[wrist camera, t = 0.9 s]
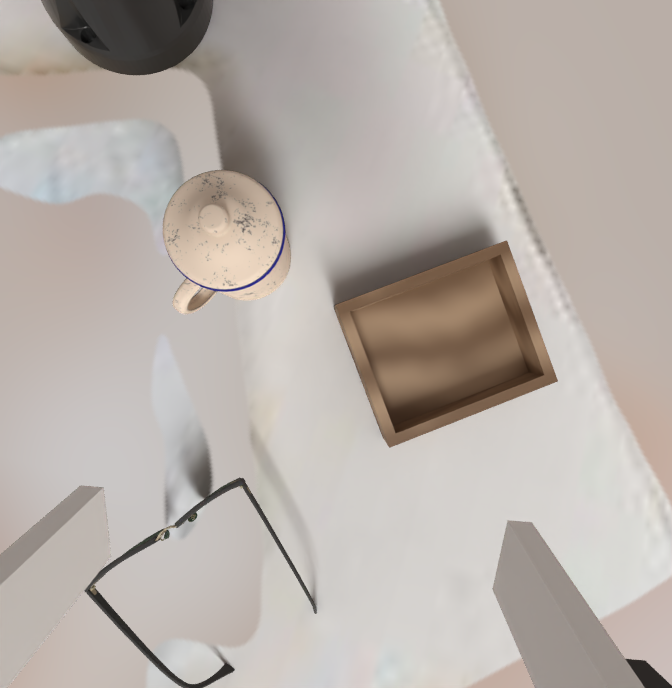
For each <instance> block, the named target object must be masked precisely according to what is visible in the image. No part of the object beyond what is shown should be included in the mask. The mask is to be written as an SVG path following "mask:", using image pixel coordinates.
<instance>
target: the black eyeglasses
mask: <svg viewBox="0 0 672 688" xmlns="http://www.w3.org/2000/svg"><path fill="white" fill-rule="evenodd" d="M238 486H240V488H243V489H244V490H245V492H246V494H247V495H248V497H249V499H250V500H251V502H252V503H253V505H254V507H255V508H256V510H257V512H258V513H259V515H260V516H261V518H262V520H263V521H264V523H265V525H266V526H267V528H268V530H269V532H270V533H271V535H272V537H273V538H274V540H275V542H276V543H277V545H278V547H279V549H280V550H281V552H282V554H283V555H284V557H285V559H286V560H287V562H288V564H289V565H290V567H291V569H292V571H293V572H294V574H295V576H296V578H297V579H298V581H299V583H300V585H301V586H302V588H303V590H304V592H305V593H306V595H307V597H308V599H309V600H310V602H311V604H312V606H313V609H314V613H315V614H316V613H317V609H316V606H315V604H314V602H313V600H312V598H311V596H310V594H309V592H308V590H307V588H306V586H305V585H304V583H303V581H302V579H301V577H300V575H299V574H298V572H297V570H296V568H295V567H294V565H293V563H292V561H291V560H290V558H289V556H288V555H287V553H286V551H285V549H284V548H283V546H282V544H281V542H280V541H279V539H278V537H277V536H276V534H275V532H274V530H273V529H272V527H271V525H270V523H269V522H268V520H267V518H266V516H265V515H264V513H263V511H262V509H261V508H260V506H259V504H258V503H257V501H256V499H255V498H254V496H253V494H252V493H251V491H250V490H249V488H248V486H247V484H246V483H245V480H244V479H243V478H238V479H236V480H234V481H232V482H230V483H228V484H227V485H224V486H223V487H221V488H219V489H218V490H217V491H215V492H214V493H212V494H211V495H209V496H208V497H207V498H205V499H204V500H203V501H201V502H200V503H198V504H197V505H196V506H194V507H193V508H192V509H191V510H190V511H188V512H187V513H186V514H185V515H184V516H183V517H181V518H180V519H179V520H178V521H177V522H176V523H175V525H172V526H169V527H167V528H165V529H162V530H160V531H158V532H156V533H155V534H153V535H151V536H150V537H148V538H146V539H145V540H143V541H142V542H140V543H139V544H138V545H136V546H134V547H133V548H131V549H130V550H129V551H127V552H126V553H125V554H123V555H122V556H121V557H119V558H117V559H116V560H114V561H113V562H112V563H110V564H109V565H108V566H106V567H105V568H103V569H102V570H101V571H99V573H98V574H97V575H96V576H95V578H94V579H93V580H92V582H91V583H90V584H89V585H88V587H87V588H86V589H85V590H84V591H85V592H87V594H88V595H89V596H90V597H91V598H92V600H93V601H94V602H95V603H96V604H97V605H98V606H99V607H100V608H101V609H102V611H103V612H104V613H105V614H106V615H107V616H108V617H109V618H110V619H111V620H112V621H113V622H114V624H115V625H116V626H117V627H118V628H119V629H120V630H121V631H122V632H123V633H124V634H125V635H126V636H127V637H128V638H129V639H130V640H131V641H132V642H133V643H134V645H135V646H136V647H138V649H139V650H140V651H141V652H142V653H143V654H144V655H146V657H147V658H148V659H149V660H150V661H151V662H152V663H153V664H154V665H155V666H156V667H157V668H158V669H159V670H160V671H162V672H163V673H164V674H165V675H166V676H167V677H168V678H170V679H171V680H172V681H174V682H175V683H176V684H178V685H179V686H181V687H183V688H203V687H205V686H208V685H209V684H211V683H213V682H215V681H216V680H218V679H220V678H222V677H224V676H226V675H227V674H230V673H232V672H233V671H234V670H235V669H234V668H232V667H231V666H230V665H228V664H227V663H226V664H225V665H224V666H223V667H222V668H221V669H220V670H219V671H218V672H217V673H216V674H214V675H213V676H212V677H210V678H209V679H207V680H206V681H203V682H201V683H198V684H188V683H186V682H184V681H182V680H181V679H179V678H178V677H177V676H175V675H174V674H173V673H172V672H171V671H170V670H169V669H168V668H167V667H166V666H165V665H164V664H163V663H162V662H161V661H160V660H159V659H158V658H157V657H156V656H155V655H154V654H153V653H152V652H151V651H150V650H149V649H148V648H147V647H146V646H145V644H144V643H143V642H142V641H141V640H140V639H139V638H138V637H137V636H136V634H135V633H134V632H133V631H132V630H131V629H130V628H129V627H128V625H127V624H126V623H125V622H124V621H123V620H122V619H121V618H120V616H119V615H118V614H117V613H116V612H115V611H114V610H113V609H112V607H111V606H110V605H109V604H108V603H107V601H106V600H105V599H104V598H103V597H102V595H101V594H100V593H99V592H98V591H97V590H96V589H95V587H96V586H94V584H95V583H96V582H97V581H98V580H100V578H102V577H103V576H104V575H105V574H106V573H107V572H108V571H109V570H111V569H112V568H113V567H115V566H116V565H118V564H119V563H121V562H122V561H124V560H125V559H127V558H129V557H130V556H132V555H134V554H136V553H138V552H139V551H141V550H143V549H145V548H147V547H148V546H150V545H152V544H154V543H156V542H157V541H159V540H160V539H161V537H162V536H161V535H163V534H164V533H165V535H164V539H167V538H169V535H170V534H169V531H168V530H166V529H169V528H175V527H176V528H178V527H179V526H180V525H182V524H183V523H184V522H185V521H186V520H187V519H188V521H189V522H192V521H194V520H195V519H196V518H197V513H196V512H197V511H198V510H199V509H200V508H202V507H203V506H204V505H206V504H207V503H209V502H210V501H212V500H213V499H215V498H217V497H218V496H220V495H221V494H223V493H225V492H227V491H229V490H231V489H233V488H236V487H238ZM160 536H161V537H160ZM164 539H163V540H164ZM163 540H162V539H161V541H163Z"/></svg>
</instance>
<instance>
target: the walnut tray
mask: <svg viewBox="0 0 672 688" xmlns="http://www.w3.org/2000/svg"><path fill="white" fill-rule="evenodd" d="M334 310H335V312H336V315H337V318H338V320H339V323H340V326H341V328H342V331H343V333H344V336H345V339H346V341H347V344H348V347H349V349H350V352H351V355H352V357H353V360H354V363H355V365H356V368H357V370H358V373H359V376H360V378H361V381H362V384H363V386H364V389H365V392H366V394H367V397H368V400H369V402H370V405H371V407H372V410H373V413H374V415H375V418H376V421H377V423H378V426H379V429H380V431H381V434H382V436H383V438H384V440H385V441H386V443H387V445H388V446H389V448H390V447H392V446H395V445H398V444H400V443H403V442H405V441H408V440H410V439H413V438H415V437H418V436H420V435H423V434H425V433H428V432H430V431H433V430H436V429H438V428H441V427H443V426H446V425H448V424H451V423H453V422H456V421H458V420H461V419H463V418H466V417H468V416H471V415H474V414H476V413H479V412H481V411H484V410H486V409H489V408H491V407H494V406H496V405H499V404H501V403H504V402H506V401H509V400H512V399H514V398H517V397H519V396H522V395H524V394H527V393H529V392H532V391H534V390H537V389H539V388H542V387H544V386H547V385H550V384H552V383H555V382H557V381H558V380H557V377H556V375H555V372H554V369H553V366H552V364H551V361H550V358H549V355H548V353H547V350H546V347H545V344H544V342H543V339H542V336H541V333H540V331H539V328H538V325H537V322H536V320H535V317H534V314H533V311H532V308H531V306H530V303H529V300H528V297H527V295H526V292H525V289H524V286H523V284H522V281H521V278H520V275H519V273H518V270H517V267H516V264H515V262H514V259H513V256H512V253H511V251H510V248H509V245H508V242H507V241H504V242H501V243H499V244H496V245H493V246H491V247H488V248H485V249H483V250H480V251H477V252H475V253H472V254H469V255H467V256H464V257H461V258H459V259H456V260H453V261H451V262H448V263H445V264H443V265H440V266H437V267H435V268H432V269H430V270H427V271H424V272H422V273H419V274H416V275H414V276H411V277H408V278H406V279H403V280H400V281H398V282H395V283H392V284H390V285H387V286H384V287H382V288H379V289H376V290H374V291H371V292H368V293H366V294H363V295H360V296H358V297H355V298H352V299H350V300H347V301H344V302H342V303H339V304H336V305H335V307H334Z"/></svg>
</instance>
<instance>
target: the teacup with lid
mask: <svg viewBox="0 0 672 688" xmlns="http://www.w3.org/2000/svg"><path fill="white" fill-rule="evenodd" d="M163 237H164V242H165V246H166V249H167V252H168V255H169V257H170V258H171V260H172V262H173V264H174V265H175V266H176V268H177V269H178V270H179V271H180V272H181V273H182V274H183V275H184V276H185V277H186V279H185V280H184V282H183V283H182V284H181V286H180V287H179V288H178V290H177V292H176V293H175V295H174V299H173V307H174V308H175V309H176V310H177V311H178V312H180V313H182V314H191V313H193V312H196V311H198V310H199V309H201V308H202V307H203V306H205V305H206V304H207V303H208V302H209V301H210V300H211V299H212V298H213V297H214V295H215V294H216V293H217V292H218V291H219V292H221V293H223V294H225V295H227V296H229V297H232V298H235V299H239V300H256V299H260V298H263V297H265V296H267V295H269V294H271V293H272V292H274V291H275V290H276V289H277V288H278V287H279V286H280V285H281V284H282V282H283V281H284V279H285V278H286V276H287V274H288V271H289V267H290V262H291V252H290V246H289V243H288V240H287V237H286V234H285V223H284V218H283V214H282V212H281V209H280V207H279V205H278V203H277V201H276V200H275V198H274V197H273V195H272V194H271V193H270V192H269V191H268V190H267V189H266V188H265V187H264V186H263V185H262V184H261V183H259V182H258V181H256V180H255V179H253V178H251V177H249V176H247V175H244V174H242V173H238V172H234V171H228V170H215V171H209V172H205V173H202V174H199V175H197V176H195V177H193V178H191V179H190V180H188V181H187V182H185V183H184V184H183V185H182V186H181V187H180V188H179V189H178V190H177V191H176V192H175V193H174V195H173V196H172V198H171V200H170V201H169V203H168V206H167V208H166V211H165V215H164V220H163ZM200 287H203V288H202V289H201V290H200V291H199V292H198V293H197V294H196V295H195V296H194V294H195V293H196V292H197V291H198V289H199V288H200Z"/></svg>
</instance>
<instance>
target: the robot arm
mask: <svg viewBox="0 0 672 688" xmlns="http://www.w3.org/2000/svg"><path fill="white" fill-rule="evenodd" d="M41 1H42V3H43V5H44V7H45V9H46V11H47V13H48V14H49V16H50V17H51V19H52V21H53V22H54V23H55V25H56V26H57V27H58V28H59V30H60V31H61V32H62V33H63V34H64V36H65V37H66V38H67V39H68V40H69V42H70V43H71V44H72V45H73V46H74V48H75V49H76V50H77V51H78V52H79V53H81V54H82V55H83V56H84V57H85V58H87V59H88V60H90V61H91V62H93V63H94V64H96V65H98V66H100V67H102V68H104V69H107V70H109V71H112V72H116V73H120V74H127V75H147V74H153V73H157V72H161V71H163V70H166V69H168V68H171V67H173V66H174V65H176V64H178V63H179V62H181V61H182V60H184V59H185V58H186V57H187V56H188V55H189V54H190V53H191V52H192V51H193V50H194V49H195V48H196V47H197V45H198V44H199V43H200V41H201V40H202V38H203V36H204V34H205V32H206V30H207V27H208V25H209V22H210V18H211V13H212V2H213V0H41ZM110 557H111V550H110V541H109V532H108V524H107V514H106V505H105V496H104V488H103V487H91V486H79V487H78V488H77V489H76V490H75V491H74V492H72V493H71V494H70V495H69V496H68V497H67V498H65V499H64V500H63V501H62V502H61V503H60V504H59V505H57V506H56V507H55V508H54V509H53V510H51V511H50V512H49V513H48V514H47V515H46V516H45V517H43V518H42V519H41V520H40V521H39V522H38V523H36V524H35V525H34V526H33V527H32V528H31V529H29V530H28V531H27V532H26V533H25V534H24V535H22V536H21V537H20V538H19V539H18V540H17V541H15V542H14V543H13V544H12V545H11V546H10V547H9V548H7V549H6V550H5V551H4V552H3V553H1V554H0V688H8V687H9V685H10V684H11V683H12V682H13V680H14V679H15V678H16V677H17V675H18V674H19V673H20V672H21V670H22V669H23V668H24V667H25V665H26V664H27V663H28V661H29V660H30V659H31V658H32V656H33V655H34V654H35V653H36V651H37V650H38V649H39V647H40V646H41V645H42V644H43V642H44V641H45V640H46V639H47V637H48V636H49V635H50V633H51V632H52V631H53V630H54V628H55V627H56V626H57V625H58V623H59V622H60V621H61V620H62V618H63V617H64V616H65V614H66V613H67V612H68V611H69V609H70V608H71V607H72V606H73V604H74V603H75V602H76V601H77V599H78V598H79V597H80V596H81V594H82V593H83V592H84V590H85V589H86V588H87V587H88V585H89V584H90V583H91V582H92V580H93V579H94V578H95V576H96V575H97V574H98V573H99V571H100V570H101V569H102V568H103V566H104V565H105V564H106V563H107V561H108V560H109V559H110ZM493 591H494V594H495V596H496V598H497V601H498V603H499V605H500V608H501V610H502V612H503V614H504V617H505V619H506V621H507V624H508V626H509V628H510V631H511V633H512V635H513V638H514V640H515V642H516V645H517V647H518V649H519V652H520V654H521V656H522V659H523V661H524V663H525V666H526V668H527V670H528V673H529V675H530V677H531V680H532V682H533V684H534V687H535V688H672V686H671V685H670V684H669V683H668V682H667V681H666V680H665V679H664V678H663V677H662V676H661V675H659V673H657V671H655V670H654V669H653V668H652V667H651V666H650V665H649V664H648V663H647V662H646V661H643V660H631V659H625V658H624V656H623V655H622V654H621V652H620V651H619V649H618V648H617V646H616V645H615V643H614V642H613V640H612V639H611V638H610V636H609V635H608V633H607V632H606V630H605V629H604V627H603V626H602V624H601V623H600V621H599V620H598V618H597V617H596V616H595V614H594V613H593V611H592V610H591V608H590V607H589V605H588V604H587V602H586V601H585V599H584V598H583V597H582V595H581V594H580V592H579V591H578V589H577V588H576V586H575V585H574V583H573V582H572V580H571V579H570V578H569V576H568V575H567V573H566V572H565V570H564V569H563V567H562V566H561V564H560V563H559V561H558V560H557V559H556V557H555V556H554V554H553V553H552V551H551V550H550V548H549V547H548V545H547V544H546V542H545V541H544V540H543V538H542V537H541V535H540V534H539V532H538V531H537V529H536V528H535V526H534V525H533V523H532V522H520V521H508V522H507V526H506V531H505V535H504V540H503V544H502V549H501V553H500V558H499V562H498V567H497V571H496V576H495V580H494V585H493Z"/></svg>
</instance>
